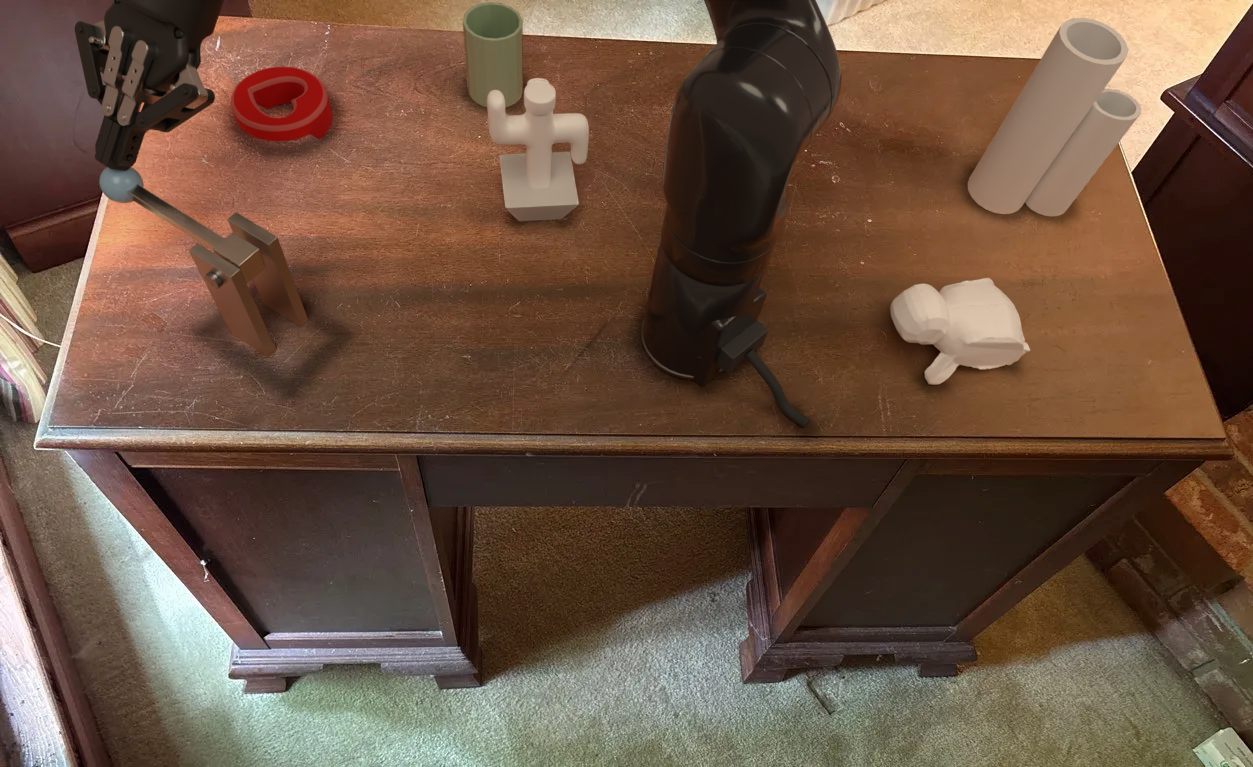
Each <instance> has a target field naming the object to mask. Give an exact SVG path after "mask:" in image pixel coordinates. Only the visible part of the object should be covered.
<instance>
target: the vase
mask: <svg viewBox="0 0 1253 767" xmlns="http://www.w3.org/2000/svg"><path fill="white" fill-rule="evenodd" d="M1128 53H1129V46H1128V44H1127V41H1126V40H1125V39H1124V37H1123V36H1122V34H1120V33H1119V32H1118V31H1117V30H1116V29H1115V28H1114V27H1111V26H1110V25H1108V24H1106V23H1104V22H1102V21H1100V20H1096V19H1095V18H1094V19H1093V18H1090V17H1089V18H1088V17H1072V18H1069V19H1067V20H1065V21H1064V22H1063V23H1062V24H1061V25H1060V26H1059V28H1058V30H1057V31H1056V33H1055V35H1054V36H1053V38H1052V40H1051V41H1050V43H1049V44H1048V46H1047V47H1046V50H1045V51H1044V53H1043V55H1042V56H1041V58H1040V59H1039V61H1038V63H1037V64H1036V66H1035V67H1034V69H1033V71H1032V73H1031V74H1030V76H1029V78H1028V79H1027V81H1026V83H1025V84H1024V86H1023V88H1022V89H1021V91H1020V92H1019V95H1018V96H1017V97H1016V100H1015V101H1014V103H1013V105H1012V106H1011V108H1010V110H1009V111H1008V112H1007V113H1006V116H1005V118H1004V119H1003V121H1002V123H1001V124H1000V126H999V128H998V130H997V131H996V133H994V134H995V135H994V136H993V138H992V139H991V141H990V143H989V145H988V146H987V147H986V149H985V151H984V152H983V155H981V158H980V159H979V161H978V163H977V164H976V166H975V168H974V170H973V171H972V173H971V174H970V176H969V178H968V181H967V183H966V184H967V191H968V193H969V195H970V197H971V199H972V200H973V201H974V202H975V203H976V204H977V205H978V206H979V207H981V208H982V209H985V210H986V211H989V212H990V213H994V214H999V215H1000V214H1001V215H1010V214H1014V213H1016V212H1018V211H1019V210H1020V209H1021V208H1022V207H1023V206H1024V204H1025V205H1026V206H1027V207H1028V208H1029V209H1030V210H1031V211H1032V212H1034V213H1036V214H1038V215H1040V216H1045V217H1059V216H1061V215H1064V214H1065V213H1066V212H1067V211H1068V209H1069V208H1070V207H1071V205H1072V204H1073V203H1074V202H1075V200H1076V199H1077V198H1078V197H1079V195H1080V194H1081V193H1082V191H1083V190H1084V188H1085V187H1086V186H1087V185H1088V183H1089V182H1090V180H1091V179H1092V178H1093V177H1094V175H1095V174H1096V173H1097V171H1098V170H1099V169H1100V168H1101V167H1102V165H1103V164H1104V162H1105V161H1106V160H1107V158H1108V157H1109V156H1110V155H1111V154H1112V152H1113V150H1114V149H1115V148H1116V147H1117V145H1118V144H1119V143H1120V142H1121V141H1122V139H1123V138H1124V136H1125V135H1126V134H1127V133H1128V131H1129V130H1130V128H1132V126H1133V125H1134V124H1135V122H1136V121H1137V120H1138V118H1139V117H1140V115H1141V113H1142V107H1141V104H1140V103H1139V102H1138V100H1137V99H1136V98H1134V97H1133V96H1132V95H1130V94H1129V93H1127V92H1125V91H1122V90H1119V89H1116V88H1115V89H1113V88H1106V87H1107V86H1108V84H1109V83H1110V82H1111V80H1112V78H1113V77H1114V76H1115V74H1116V73H1117V71H1118V70H1119V69H1120V67H1121V66H1122V65H1123V63H1124V62H1125V60H1126V59H1127V58H1128V55H1129V54H1128Z"/></svg>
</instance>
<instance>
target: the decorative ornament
mask: <svg viewBox="0 0 1253 767" xmlns="http://www.w3.org/2000/svg"><path fill="white" fill-rule="evenodd" d="M283 104H291V108H292V111H291V112H290V113H288V114H287V115H285V116H277V117H276V116H271V115H269V114H267V113H265V112H264V111H263V110H262V109H261V108H260V107H262V108H263V109H265V110H269V109H272V108H274V107H277V106H281V105H283ZM230 108H231V111H232V114H233V116H234V119H235V121H236V123H237V125H238V126H239V128H240V129H241V130H243V131H244V132H245V133H246V134H247V135H249V136H251V137H254V138H256V139H260V140H263V141H270V142H288V141H294V140H297V139H298V140H299V139H301V138H304V137H306V136H308V135H311V136H312V137H314V138H316V139H317V140H321V139H322V138H323V137H325V135H326V134H327V133H328V131H329V130H330V128H331V126H332V123H333V117H334V116H333V110H332V106H331V102H330V98H329V93H328V90H327V87H326V85H325V84H324V82H323V81H322V80H321V79H320V78H319V77H317V76H316V75H315V74H313V73H311V72H310V71H307V70H305V69H302V68H299V67H294V66H270V67H266V68H261V69H259V70H256V71H254V72H252V73H250V74H248V75H246V76H245V77H244V78H243V79H242V80H240V81H239V82H238V83H237V84H236V86H235V87H234V88H233V91H232V93H231V97H230Z"/></svg>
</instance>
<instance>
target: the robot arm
mask: <svg viewBox="0 0 1253 767" xmlns="http://www.w3.org/2000/svg"><path fill="white" fill-rule="evenodd" d="M224 2H225V0H113V1H112V4H111V5H110V6H109V7H108V8H106V11H104V15H103V20H100V21H97V22H95V23H88V22H84V21H82V20H80V21H77V22H76V23H75V25H74V33H75V39H76V44H77V47H78V52H79V58H80V62H81V67H82V73H83V75H84V80H85V85H86V90H87V94H88V96H89V97H90V98H91V99H94V100H97V102H99V104H100V106H101V113H102V114H103V115H104V116H103V119H102V122H101V125H100V128H99V132H98V135H97V139H96V141H95V145H94V146H95V148H94V150H95V154H94V159H95V161H97V162H99V163H100V164H101V165H104V167H106V168H107V167H108V168H110V169H115V170H123V171H126V170H128V169H129V168H130V167H132V168H133V166H134V165H135V164H136V162H137V159H138V156H139V154H140V151H141V147H142V144H143V141H144V138H145V135H146V133H147V132H149V131H156V132H157V131H158V132H161V133H170V132H171V131H173V130H174V129H176V128H178V127H179V126H181V125H182V124H184V123H185V122H187V121H189V120H190V119H191V118H193V117H195V116H196V115H198V114H199V113H201V112H202V111H203V110H205V109H207V108H208V107H210V106H211V105H213V104H214V103H215V100H216V94H215V92H214V91H213V90H212V89H211V88H207V87H205V86H204V84H203V82H202V80H201V77H200V75H199V73H198V69H199V67H200V66H201V61H202V56H201V47H202V43H203V41H204V40H206V38H208V37H210V36H212V35H213V34H214V32H215V29H216V26H217V23H218V20H219V17H220V14H221V11H222V9H223V5H224ZM703 2H704V4H705V7H706V9H707V10H706V11H707V12H708V15H709V18H710V22H711V25H712V28H713V31H714V34H715V39H716V44H715V45H714V46H713V47H712V48H711V49H710V50H709V51H708V52H707V54H705V55H704V57H703V58H702V59H701V60H700V61H699V62H698V63H697V64H696V65H695V67H693V69H692V70H691V71H690V72H689V73H688V74H687V75H686V76H685V78H684V79H683V80H682V82H681V83H680V85H679V87H678V90H677V92H676V94H675V96H674V100H673V103H672V107H671V110H670V117H669V122H668V127H667V128H668V129H667V135H666V144H665V151H664V160H663V167H662V177H661V178H662V179H661V181H662V182H661V183H662V191H663V195H664V198H665V201H666V205H665V212H664V216H663V223H662V227H661V231H660V236H659V241H658V247H657V253H656V256H655V262H654V267H653V271H652V272H653V273H652V276H651V283H650V287H649V291H648V295H647V296H648V297H647V301H646V306H645V307H646V308H645V313H644V317H643V319H642V322H641V328H640V342H641V345H642V348H643V351H644V353H645V355H646V356H647V358H648V360H649V361H650V362H651V363H652V364H653V365H654V366H655V367H656V368H658V369H659V370H660V371H662V372H663V373H665V374H667V375H670V376H672V377H674V378H677V379H681V380H688V381H693V382H695V384H697V385H698V386H699V387H701V388H704V387H705V386H706V385H707V384H709V383H711V381H713V380H714V379H715V378H717V376H719V375H721V374H722V373H723V372H724V373H726V374H730V373H731V372H732V371H733V370H734V369H736V368H737V367H738V366H740V365H741V364H742V363H743V362H745V360H747V361H748V362H749V364H751V366H752V368H753V369H755V371H756V372H757V373H758V375H759V376H760V377H761V378H762V379H763V381H764V383H766V385H767V387H768V388H769V389H770V391H771V393H772V395H773V397H774V400H775V403H776V405H777V406H778V408H779V409H780V411H781V412H782V413H783V414H784V415H785V416H786V418H788V419H790V420H791V421H792V422H793V423H796V424H797V425H798V426H800V427H802V429H804V428H806V426H807V425H808V424H809V423H810V421H811V419H810V418H809V417H807V416H806V415H804V413H803V414H802V413H801V412H800V411H799V410H797V409H795V408H794V406H792V404H791V403H790V402H789V401H788V399H787V398H786V395H785V392H784V390H783V387H782V385H781V384H780V382H779V381H778V379H777V378H776V375H775V374H774V373H773V372H772V371H771V370H770V368H769V367H768V365H766V363H765V362H764V361H763V360H762V358H760V356H759V355H758V354H757V353H756V352H757V351H758V350H760V348H761V347H763V344H764V342H765V340H766V337H767V335H768V332H769V329H768V328H767V327H765V325H763V323H761V322H760V321H759V317H760V315H761V312H762V309H763V306H764V304H765V302H766V299H767V296H768V292H767V291H766V290H765V289H764V288H762V286H761V285H762V283H763V280H764V277H765V275H766V271H767V269H768V267H769V263H770V261H771V258H772V256H773V253H774V250H775V247H776V245H777V242H778V239H779V237H780V235H781V232H782V230H783V227H784V224H785V221H786V218H787V214H788V198H787V195H786V194H787V193H786V189H787V186H788V184H789V182H790V178H791V176H792V173H793V171H794V169H795V166H796V164H797V162H798V161H799V159H800V158H801V156H802V155H803V154H804V152H805V151H806V150H807V148H808V147H809V146H810V144H811V143H812V142H813V140H814V139H816V137H817V135H818V134H819V132H820V131H821V130H822V129H823V127H824V126H825V124H826V123H827V121H829V119H830V117H831V116H832V115H833V113H834V111H835V108H836V106H837V104H838V102H839V98H840V94H841V90H842V81H843V80H842V78H843V77H842V67H841V62H840V58H839V54H838V51H837V50H838V49H837V48H836V44H835V42H834V39H833V37H832V34H831V32H830V29H829V27H828V24H827V22H826V20H825V17H824V15H823V13H822V10H821V9H820V7H819V4H818V2H817V0H703ZM102 74H103V75H102ZM123 76H124V77H123ZM142 104H143V105H142Z"/></svg>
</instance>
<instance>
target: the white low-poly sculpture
mask: <svg viewBox="0 0 1253 767" xmlns="http://www.w3.org/2000/svg"><path fill="white" fill-rule="evenodd" d="M889 310H890V318H891V320H892V322H893V325H894V328H895V330H896V331H897V333H898V334H899V336H900V337H901V339H903V340H904V341H905V342H907V343H909V344H920V345H921V346H922V345H933V346H934V347H935V349H937V350H938V351H940V352H939V353H938V355H937V356H936V357H935V359H934V360H933V362H932V363H931V364H930V366H929V365H928V367H927V368H926V369H925V370H924V372H923V373H924V379H925V380H926V382H927V384H928V385H935V386H936V385H941V384H942V383H944V382H946V381H947V380H948V379H949V378H950V377H951V376H952V375H953V374H954V372H955V371H957V368H958V367H959V366H965V367H972V369H978V370H984V371H985V370H991V369H996V368H997V369H998V368H1000V367H1003V366H1006V365H1007V366H1011V365H1013V364H1014V363H1015V362H1016V363H1017V362H1018V361H1019V360H1020V359H1021V357H1022V356H1024V355H1025V354H1027V353H1029V352H1031V348H1030V346H1029V344H1028V342H1025V340H1026V339H1025V335H1024V333H1023V329H1022V322H1021V317H1020V314H1019V312H1018V310H1017V308H1016V305H1015V304H1014V303H1013V301H1011V299H1010V298H1009V297H1008V296H1007V295H1006V293H1004V292H1003V291H1002V290H1001V289H1000V288H998V287H997V286H996V285H995V283H994V281H993V280H992V279H991V278H990V277H983V278H978V279H973V280H962V281H961V282H955V283H952V284H947V285H944V286H943V287H941V289H940V290H939V291H938V290H937V289H936V288H935V287H934V286H932V285H931V284H928V283H918V284H913V285H912V286H910V287H908V288H906V289H904V290H903V291H902V292H901V293H899V294H898V295H897V296H896V297H895V298H894V299H893V300H892V302H891V304H890V306H889Z"/></svg>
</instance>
